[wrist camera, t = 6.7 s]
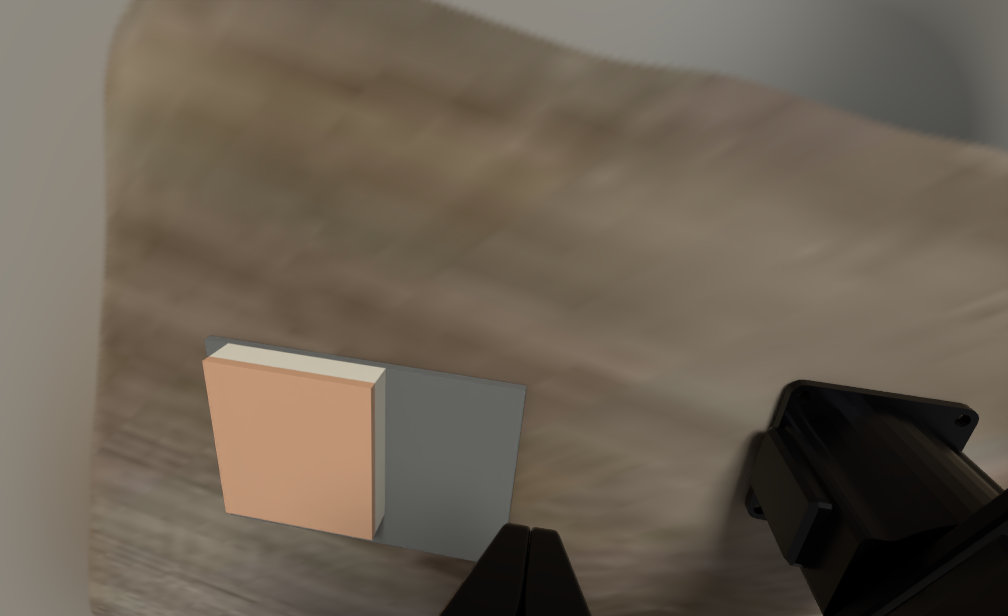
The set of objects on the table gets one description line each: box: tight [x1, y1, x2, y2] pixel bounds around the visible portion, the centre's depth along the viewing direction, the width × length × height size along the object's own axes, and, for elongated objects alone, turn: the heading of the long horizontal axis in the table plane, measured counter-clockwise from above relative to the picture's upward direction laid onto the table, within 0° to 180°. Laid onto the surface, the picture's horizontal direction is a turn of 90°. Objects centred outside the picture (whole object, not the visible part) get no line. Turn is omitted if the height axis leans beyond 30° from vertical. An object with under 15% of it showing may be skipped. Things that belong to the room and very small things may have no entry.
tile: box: [203, 343, 386, 540], centre depth 22 cm, size 2×8×7 cm
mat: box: [205, 336, 527, 562], centre depth 23 cm, size 14×10×1 cm
